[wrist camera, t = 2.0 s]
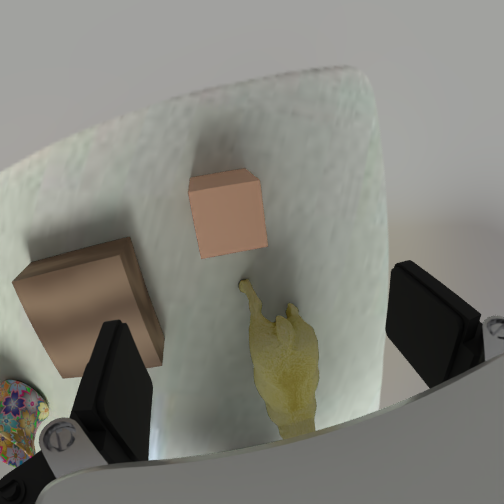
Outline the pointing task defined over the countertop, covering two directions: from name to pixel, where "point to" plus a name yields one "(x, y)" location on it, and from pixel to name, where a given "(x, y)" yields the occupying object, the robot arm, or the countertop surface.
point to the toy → (284, 366)
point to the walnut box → (88, 303)
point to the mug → (19, 421)
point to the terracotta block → (227, 212)
